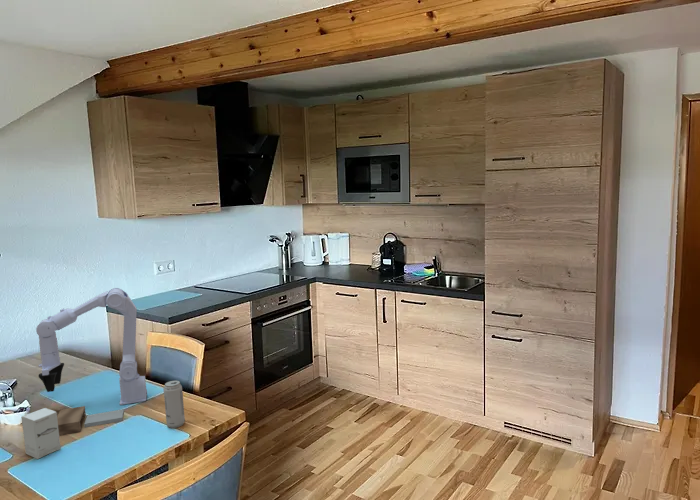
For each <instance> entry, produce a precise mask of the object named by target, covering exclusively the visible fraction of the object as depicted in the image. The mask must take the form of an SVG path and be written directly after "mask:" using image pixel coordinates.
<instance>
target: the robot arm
mask: <svg viewBox="0 0 700 500" xmlns="http://www.w3.org/2000/svg"><path fill="white" fill-rule="evenodd" d="M97 307H98V308H107V307H108V308H111V309H113V310H116V311H118V312H119V313H121V314H122V315H123V333H122V335H123V337H122V361H121V362H120V365H119V372H118V374H119V378H118V380H119V389H120V390H119V391H120V400H119V405H120V406H124V405H129V404H133V403H134V404H135V403H141V402H146V401H147V395H148V390H147V384H146V376H145V375H140V373H138V362H137V360H136V341H137V340H136V336H137V313H138V312H137V310H138V309H137V307H136V305H135V303H134V302H133V300H132V299H131V298H130V296H129V294H128V293H127V291H125V290H123V289H122V288H119V287H114V288H112V289H110V290H106V291H103V292H101V293H99V294H98V295H96V296H94V297H92V298H90V299H89V300H87V301H85V302H83V303H81V304H80V305H78V306H76V307H75V308H71V307H70V308H69V307H67V308H61V309H60V311H59V312H57V313H56V314H53V315H49V316H47V317H46V318H44V319H42V320H41V321H40V322H39V324H38V325H37V326H36V329H35V330H36V331H35V332H36V334H37V336H38V339H39V342H38V343H39V351H40V361H41V363H40V364H38V368H41V373H39V374H38V378H39V379H40V381H42V383H43V385H44V387H45V389H46V392H47V393H50V392H54V391H55V389H56V388H55V387H56V386H55V385H59V384H61V381H62V373H63V369H64V367H65V363H64V362H62V361H61V357H60V352H59V344H58V337H57V333H56V331H60V330H63V329H64V328H66V327H68V326H69V325H71V324H73V323H76V322H77V319H78V317H79V316H81V315H83V314H86V313H87V312H90V311H92V310H93V309H96V308H97Z"/></svg>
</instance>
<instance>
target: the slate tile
mask: <svg viewBox="0 0 700 500" xmlns="http://www.w3.org/2000/svg"><path fill="white" fill-rule="evenodd" d="M124 414H125V413H124V409H117V410H110V411H105V412H99V413H94V414H88V415H87V414H86V417H85V421H84V425H83V426H84V428H90V427H95V426H101V425H106V424H113V423H119V422H123V419H124Z"/></svg>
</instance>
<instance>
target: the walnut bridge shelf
mask: <svg viewBox="0 0 700 500" xmlns="http://www.w3.org/2000/svg"><path fill="white" fill-rule="evenodd" d="M86 418H87V413H86V406H85V405H83V406H77V407H70V408H64V409H60V410H59V412H58V413H57V421H58V430H59V436H64V435H69V434H74V433H76V434H77V433H80V432H82V431H81V430H82V426H81V421H82V419H86Z"/></svg>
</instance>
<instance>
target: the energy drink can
mask: <svg viewBox="0 0 700 500" xmlns="http://www.w3.org/2000/svg"><path fill="white" fill-rule="evenodd" d="M163 396H164V397H163V398H164V409H165V410H164V411H165V420H166V422H165V423H166V426H168V427H169V428H171V429H174V428H175V429H176V428H179V427H182V426H183V425H184V423H185V419H186V418H185V408H184V393H183V386H182V384H181V381H179V380H170V381H167V382H165V383H164V386H163Z"/></svg>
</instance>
